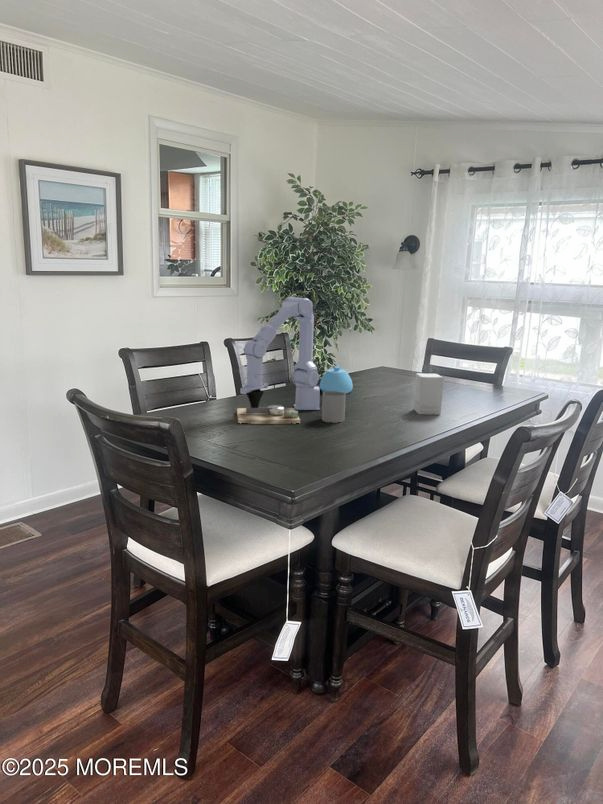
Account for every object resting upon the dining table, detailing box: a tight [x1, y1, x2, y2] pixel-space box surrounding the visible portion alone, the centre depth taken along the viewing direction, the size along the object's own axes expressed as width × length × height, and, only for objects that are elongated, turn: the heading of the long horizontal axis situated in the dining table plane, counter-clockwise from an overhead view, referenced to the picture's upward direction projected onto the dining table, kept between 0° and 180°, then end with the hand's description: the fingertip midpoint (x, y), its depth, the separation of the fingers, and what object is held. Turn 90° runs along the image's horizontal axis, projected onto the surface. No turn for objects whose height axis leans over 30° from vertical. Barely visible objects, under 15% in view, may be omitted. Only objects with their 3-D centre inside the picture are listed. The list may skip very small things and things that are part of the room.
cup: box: [321, 391, 347, 424], centre depth 220 cm, size 8×8×10 cm
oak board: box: [236, 407, 301, 425], centre depth 222 cm, size 22×18×4 cm
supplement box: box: [413, 372, 445, 416], centre depth 236 cm, size 9×9×15 cm
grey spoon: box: [245, 404, 285, 415], centre depth 220 cm, size 14×6×2 cm, turn 102°
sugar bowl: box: [319, 366, 354, 395], centre depth 271 cm, size 15×15×12 cm
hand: (254, 409), depth 221 cm, fingers closed
